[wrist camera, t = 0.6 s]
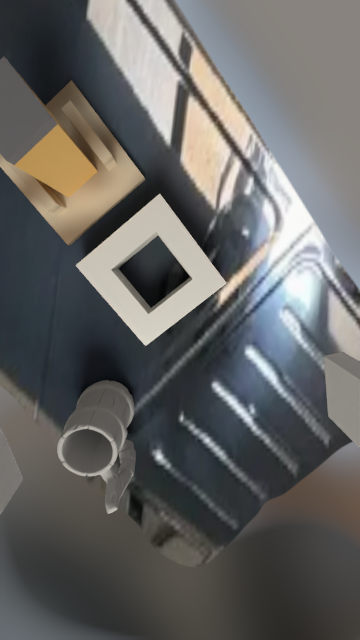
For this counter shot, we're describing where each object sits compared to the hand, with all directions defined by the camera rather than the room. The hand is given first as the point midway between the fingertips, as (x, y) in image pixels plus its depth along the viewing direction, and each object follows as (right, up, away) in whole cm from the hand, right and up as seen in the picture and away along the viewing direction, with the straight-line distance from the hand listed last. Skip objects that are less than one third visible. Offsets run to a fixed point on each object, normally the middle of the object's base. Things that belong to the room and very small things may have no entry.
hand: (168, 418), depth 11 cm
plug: (-12, +21, +19) cm, 31 cm away
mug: (-9, -9, +28) cm, 31 cm away
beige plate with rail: (-12, +21, +20) cm, 32 cm away
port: (-3, +10, +23) cm, 25 cm away
